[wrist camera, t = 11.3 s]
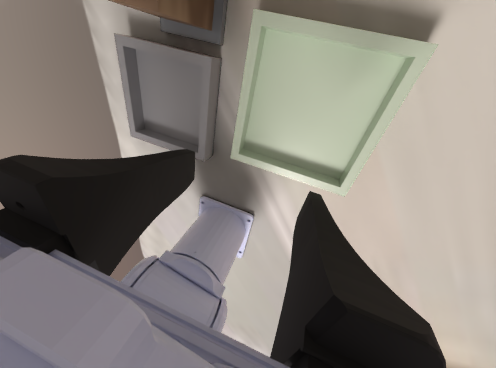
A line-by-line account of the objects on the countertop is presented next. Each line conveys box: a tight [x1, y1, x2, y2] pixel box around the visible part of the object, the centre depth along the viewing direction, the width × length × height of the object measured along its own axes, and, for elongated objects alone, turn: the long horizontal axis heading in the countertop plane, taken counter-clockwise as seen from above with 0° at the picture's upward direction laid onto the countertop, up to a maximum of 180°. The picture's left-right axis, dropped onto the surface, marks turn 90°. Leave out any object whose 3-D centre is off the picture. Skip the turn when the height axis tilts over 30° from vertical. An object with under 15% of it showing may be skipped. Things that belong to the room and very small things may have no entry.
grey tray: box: [114, 33, 222, 162], centre depth 20 cm, size 10×10×2 cm
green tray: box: [230, 9, 439, 197], centre depth 17 cm, size 12×12×2 cm
